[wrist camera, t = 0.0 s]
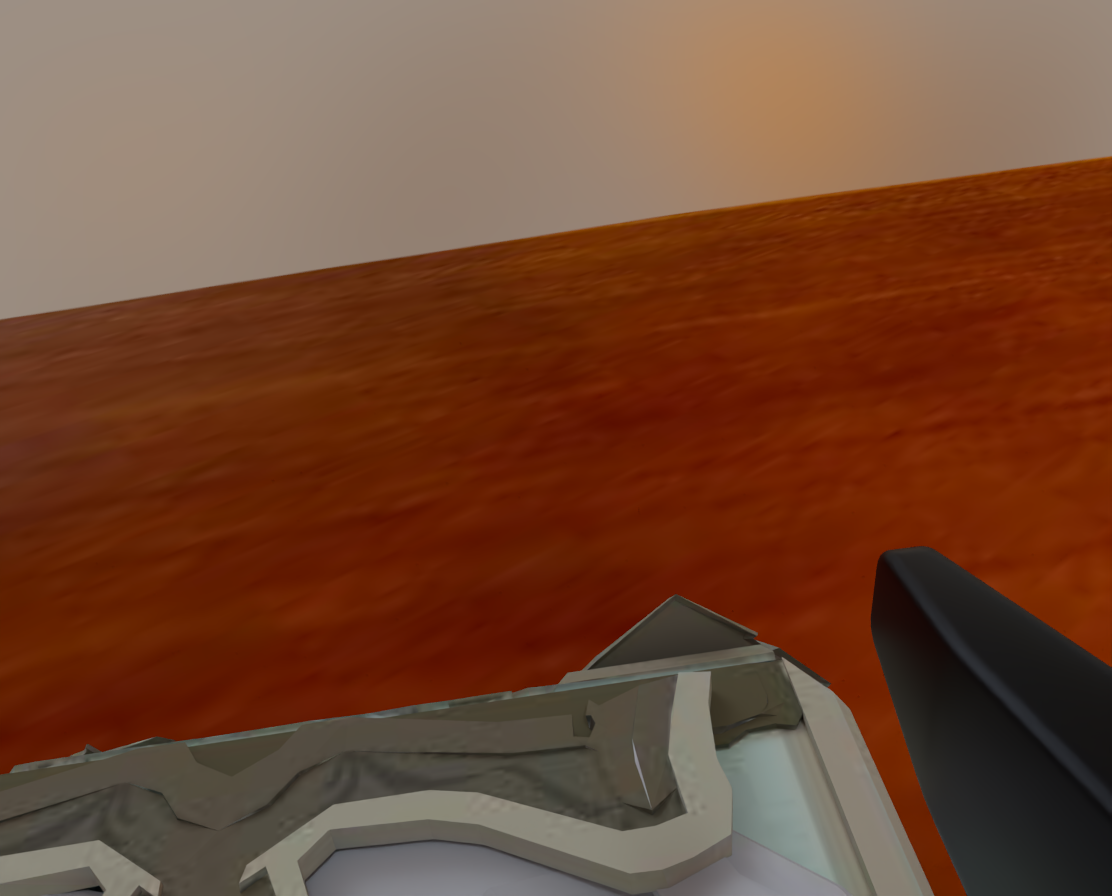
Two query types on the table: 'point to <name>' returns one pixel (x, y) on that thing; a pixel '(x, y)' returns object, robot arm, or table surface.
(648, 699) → the ornate book
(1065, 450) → the table surface
